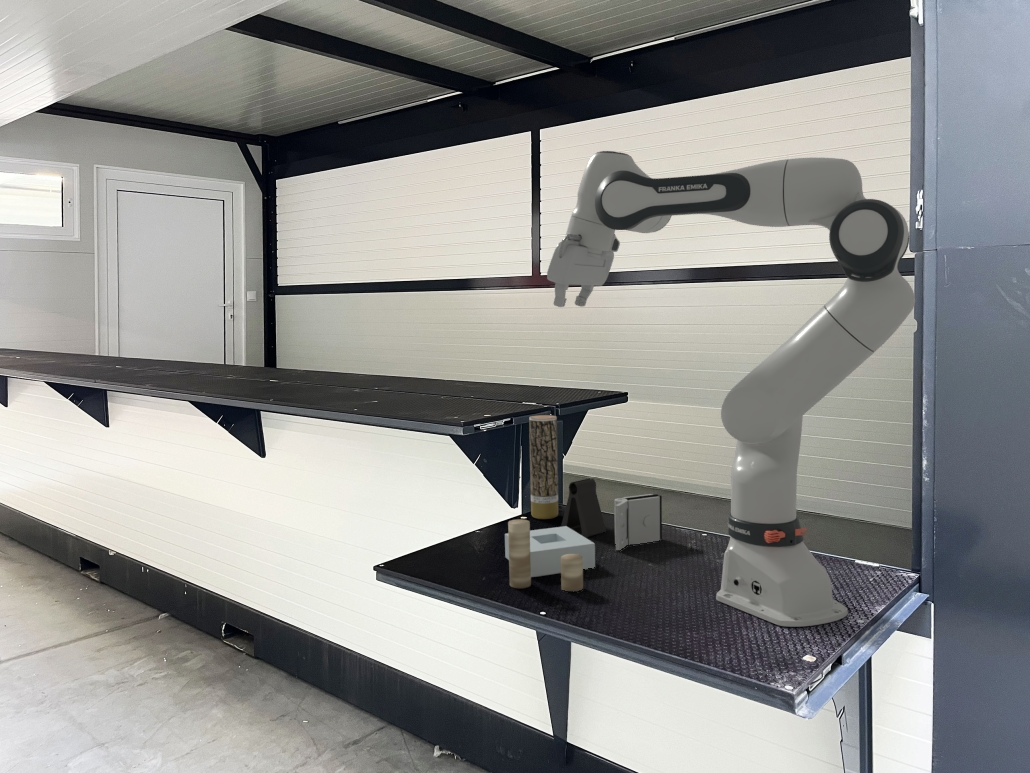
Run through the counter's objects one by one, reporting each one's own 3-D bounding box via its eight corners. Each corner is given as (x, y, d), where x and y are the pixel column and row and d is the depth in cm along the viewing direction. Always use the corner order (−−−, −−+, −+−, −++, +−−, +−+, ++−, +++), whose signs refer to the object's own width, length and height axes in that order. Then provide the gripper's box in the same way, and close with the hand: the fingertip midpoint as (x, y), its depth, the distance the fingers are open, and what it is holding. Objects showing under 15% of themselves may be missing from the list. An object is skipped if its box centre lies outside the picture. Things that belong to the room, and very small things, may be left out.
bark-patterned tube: (563, 517, 198) (562, 417, 196) (540, 521, 195) (538, 419, 193) (549, 511, 204) (547, 414, 202) (526, 515, 201) (524, 416, 199)
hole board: (595, 567, 159) (594, 543, 159) (529, 577, 155) (528, 552, 154) (566, 548, 173) (566, 526, 172) (505, 557, 168) (504, 533, 167)
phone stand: (606, 532, 184) (605, 481, 183) (588, 537, 181) (587, 485, 179) (578, 525, 191) (577, 475, 190) (560, 530, 187) (559, 479, 186)
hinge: (618, 552, 169) (617, 505, 168) (601, 547, 174) (600, 501, 173) (665, 540, 177) (664, 495, 176) (647, 535, 182) (647, 491, 181)
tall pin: (534, 586, 150) (532, 523, 149) (513, 589, 148) (512, 526, 147) (526, 579, 153) (525, 518, 152) (506, 582, 152) (505, 520, 151)
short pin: (586, 590, 147) (586, 558, 146) (566, 594, 145) (566, 561, 145) (577, 584, 151) (577, 552, 150) (558, 587, 149) (557, 555, 149)
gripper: (580, 237, 143) (559, 311, 146) (623, 244, 161) (603, 310, 164) (550, 228, 146) (530, 301, 149) (596, 235, 163) (577, 300, 167)
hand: (569, 306), depth 157 cm, fingers open, 8 cm apart
